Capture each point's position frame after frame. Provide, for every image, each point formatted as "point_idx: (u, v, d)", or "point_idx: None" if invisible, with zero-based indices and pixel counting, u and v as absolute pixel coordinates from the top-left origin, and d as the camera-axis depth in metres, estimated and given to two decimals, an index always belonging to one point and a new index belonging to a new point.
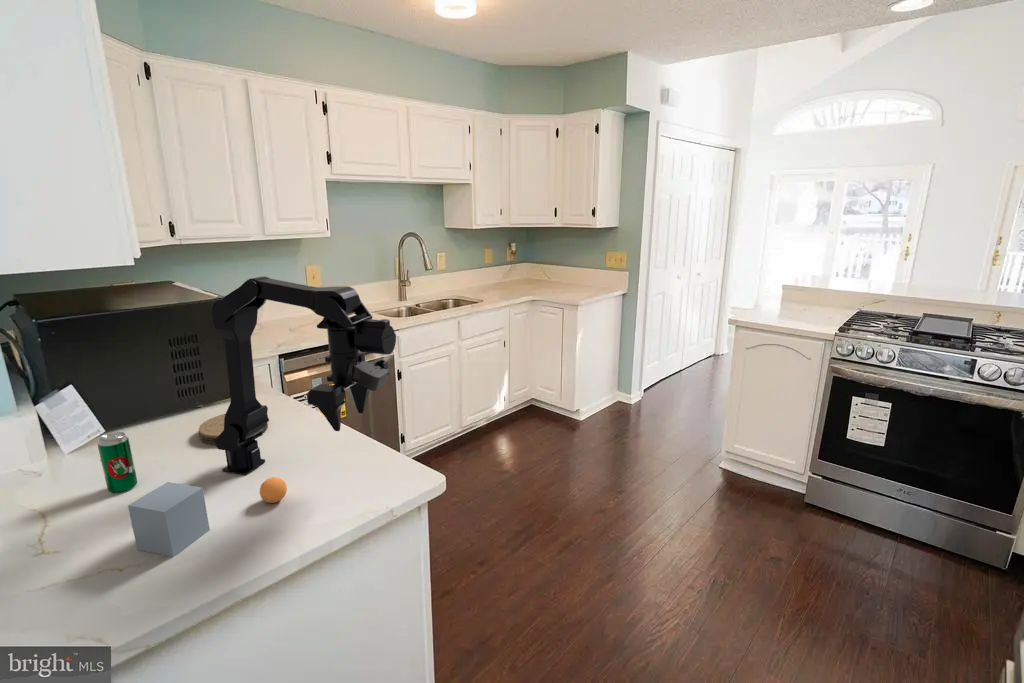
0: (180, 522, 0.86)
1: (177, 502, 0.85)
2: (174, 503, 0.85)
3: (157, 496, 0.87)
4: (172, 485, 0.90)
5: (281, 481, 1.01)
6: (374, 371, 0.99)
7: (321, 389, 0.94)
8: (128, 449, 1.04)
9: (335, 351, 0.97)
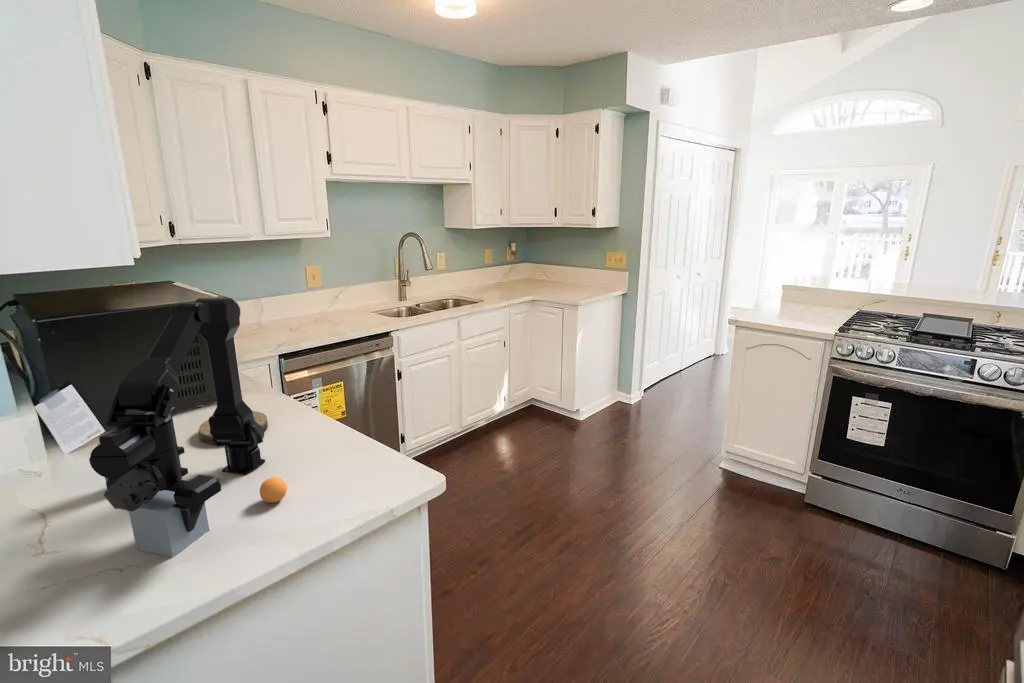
0: (180, 523, 0.86)
1: None
2: (174, 503, 0.85)
3: (157, 496, 0.87)
4: None
5: (281, 481, 1.01)
6: (120, 487, 0.80)
7: None
8: None
9: None
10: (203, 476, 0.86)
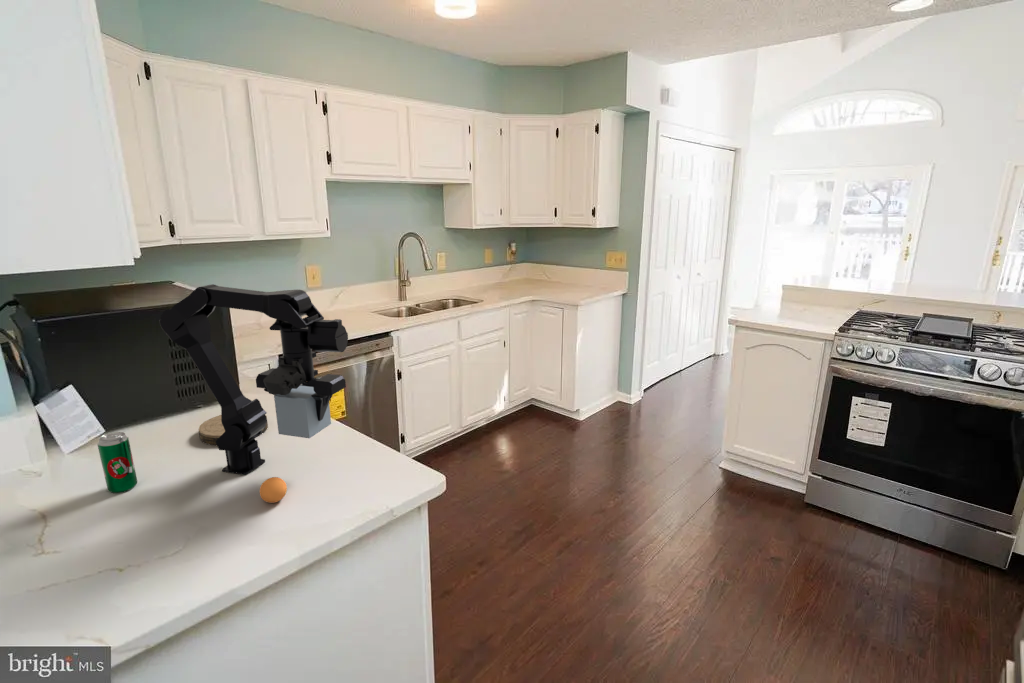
0: (314, 411, 1.07)
1: (312, 394, 1.06)
2: (310, 395, 1.06)
3: (294, 391, 1.08)
4: (303, 386, 1.11)
5: (281, 481, 1.01)
6: (275, 376, 1.00)
7: (270, 370, 1.09)
8: (128, 449, 1.04)
9: (289, 351, 1.03)
10: (332, 374, 1.07)
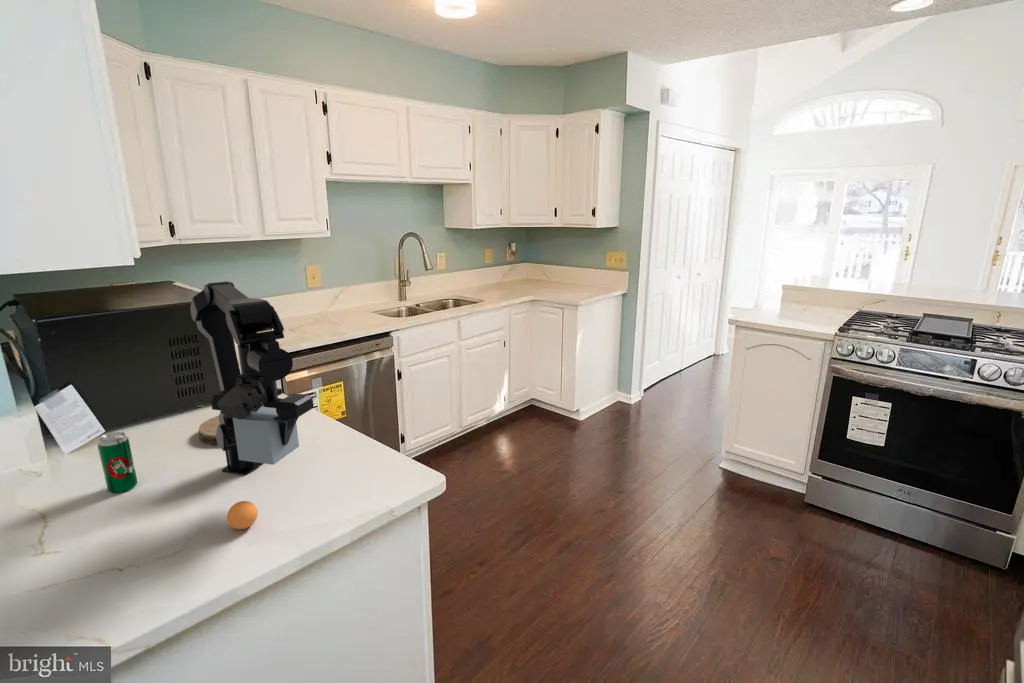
0: (278, 434, 0.95)
1: (276, 416, 0.95)
2: (274, 416, 0.95)
3: (256, 412, 0.97)
4: None
5: None
6: (231, 398, 0.89)
7: (228, 390, 0.98)
8: (128, 449, 1.04)
9: (241, 367, 0.92)
10: (298, 394, 0.96)
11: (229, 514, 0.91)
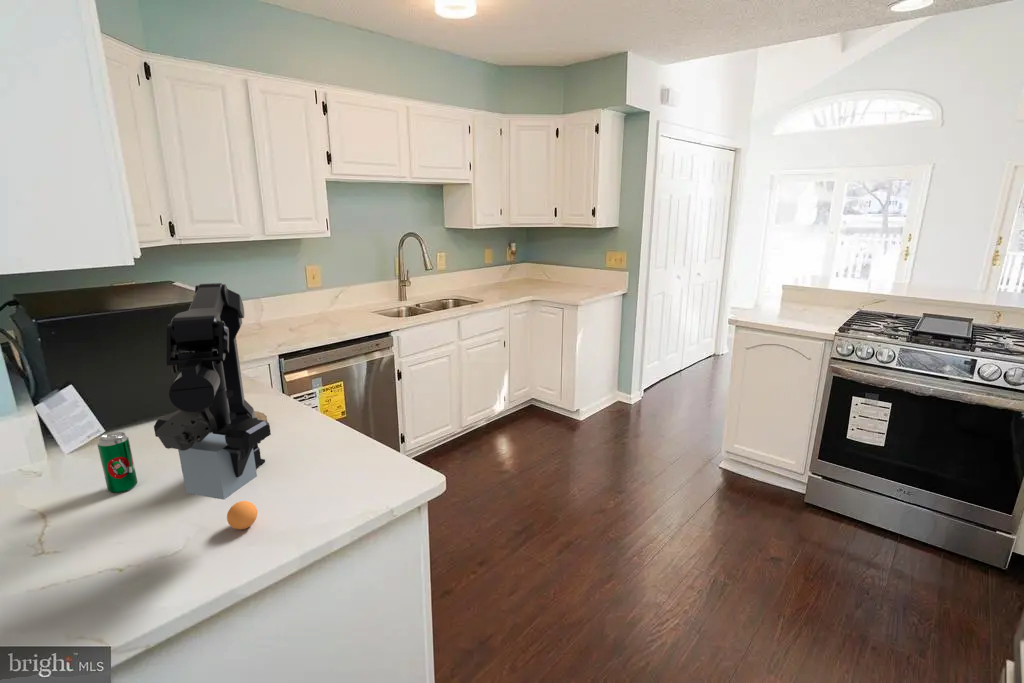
0: (230, 465, 0.84)
1: (227, 444, 0.84)
2: (225, 445, 0.83)
3: (206, 439, 0.85)
4: None
5: None
6: (172, 426, 0.78)
7: (175, 413, 0.87)
8: (128, 449, 1.04)
9: None
10: (253, 419, 0.85)
11: (229, 514, 0.91)
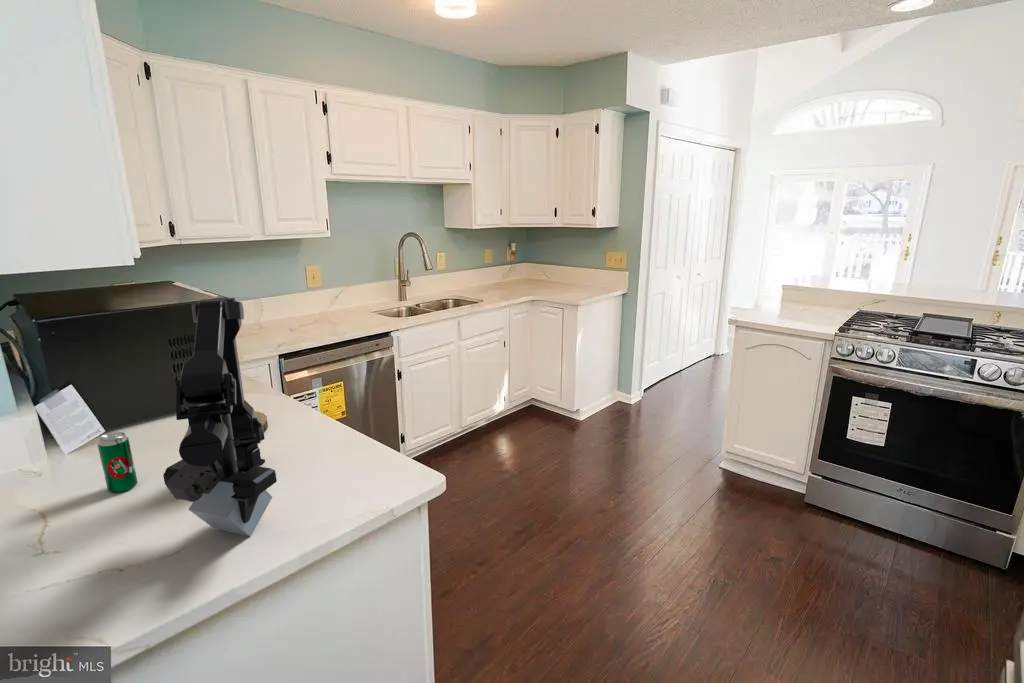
0: None
1: (235, 501, 0.86)
2: (232, 503, 0.86)
3: (212, 493, 0.87)
4: None
5: None
6: (182, 478, 0.80)
7: (184, 461, 0.89)
8: (128, 449, 1.04)
9: None
10: (259, 467, 0.87)
11: None
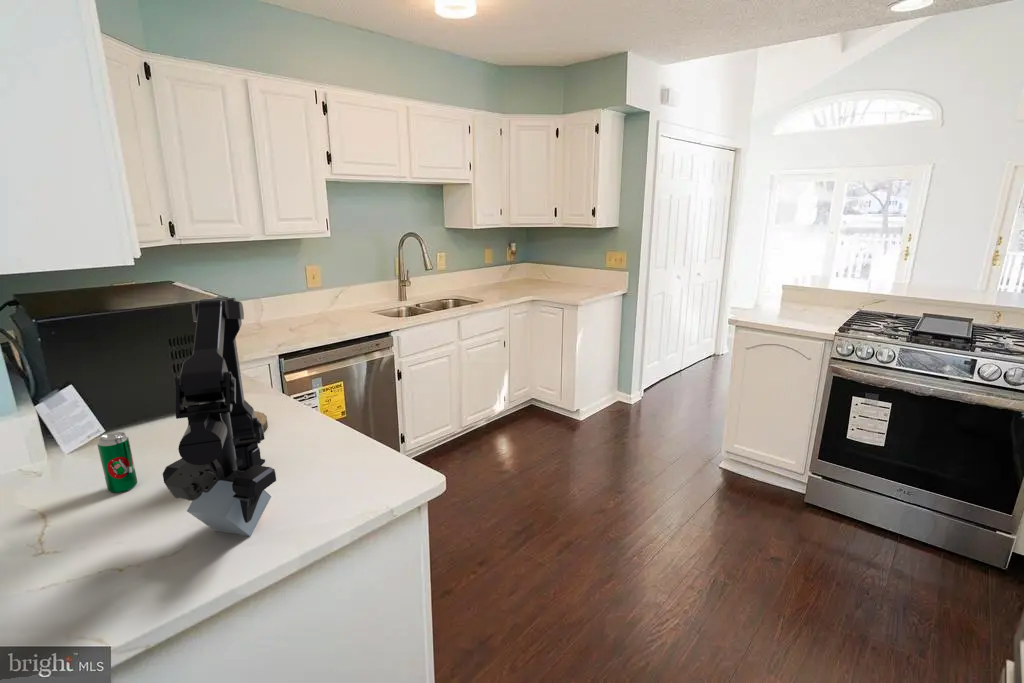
0: None
1: (232, 501, 0.86)
2: (230, 502, 0.86)
3: (210, 494, 0.87)
4: None
5: None
6: (181, 476, 0.80)
7: (183, 460, 0.89)
8: (128, 449, 1.04)
9: None
10: (259, 466, 0.87)
11: None
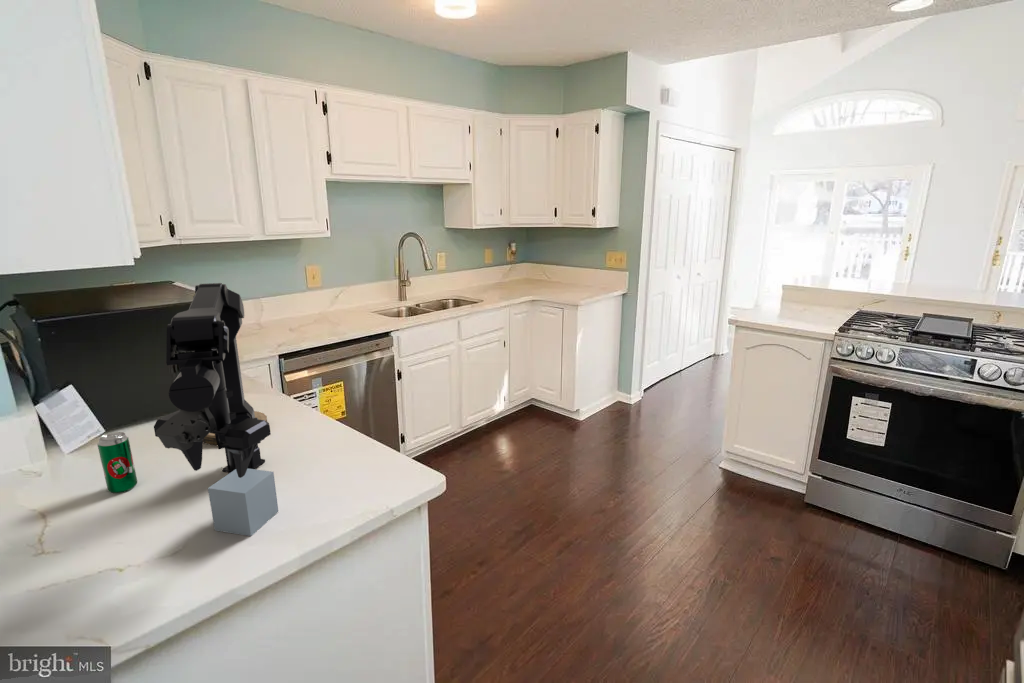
0: (256, 504, 0.92)
1: (254, 484, 0.91)
2: (251, 485, 0.91)
3: (233, 480, 0.93)
4: None
5: None
6: (172, 426, 0.78)
7: (175, 413, 0.86)
8: (128, 449, 1.04)
9: None
10: (252, 419, 0.84)
11: None
